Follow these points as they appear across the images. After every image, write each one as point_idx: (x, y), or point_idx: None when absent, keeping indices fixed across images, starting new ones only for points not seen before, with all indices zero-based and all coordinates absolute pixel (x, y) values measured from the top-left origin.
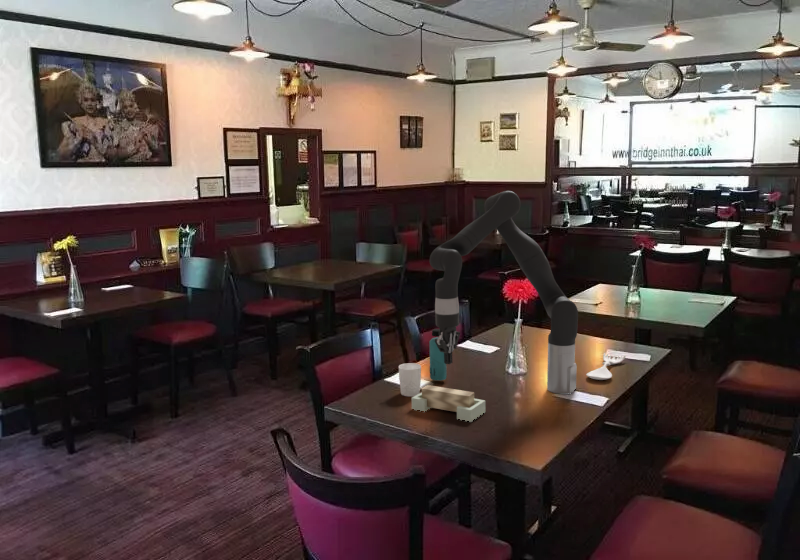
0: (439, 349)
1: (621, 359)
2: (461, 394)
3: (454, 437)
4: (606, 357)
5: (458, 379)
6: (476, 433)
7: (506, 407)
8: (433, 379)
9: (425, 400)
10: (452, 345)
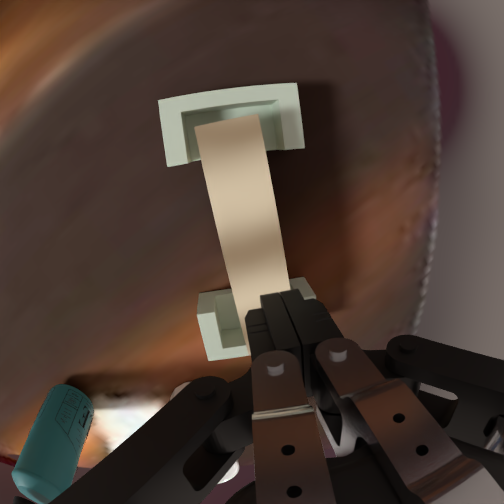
0: (434, 399)
1: None
2: (259, 160)
3: (408, 80)
4: None
5: (23, 362)
6: (349, 36)
7: (81, 86)
8: (92, 404)
9: (307, 295)
10: (289, 408)
